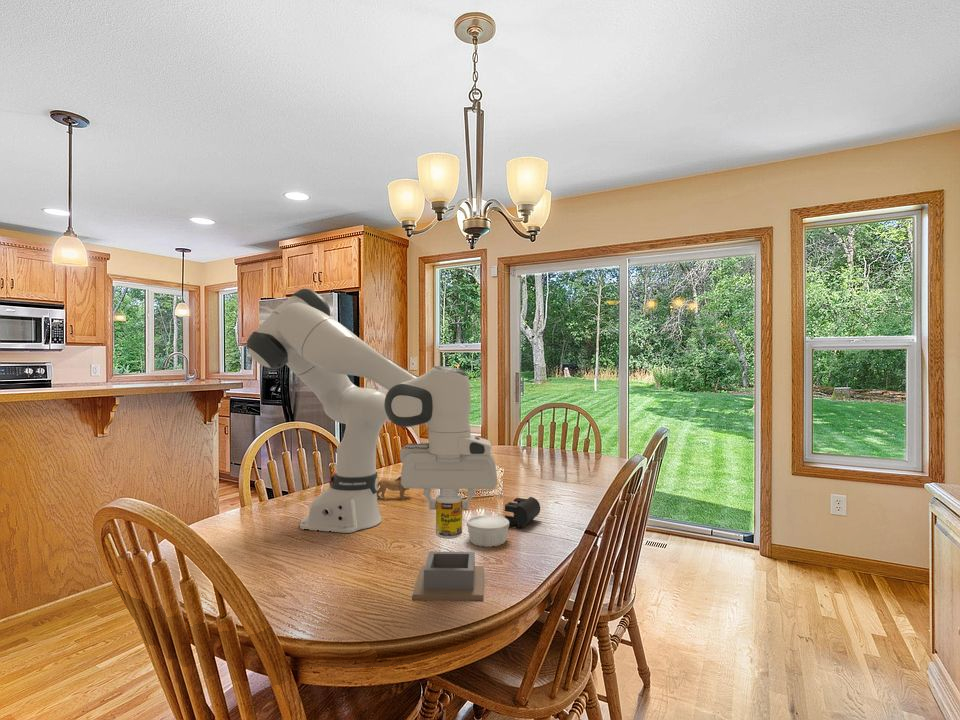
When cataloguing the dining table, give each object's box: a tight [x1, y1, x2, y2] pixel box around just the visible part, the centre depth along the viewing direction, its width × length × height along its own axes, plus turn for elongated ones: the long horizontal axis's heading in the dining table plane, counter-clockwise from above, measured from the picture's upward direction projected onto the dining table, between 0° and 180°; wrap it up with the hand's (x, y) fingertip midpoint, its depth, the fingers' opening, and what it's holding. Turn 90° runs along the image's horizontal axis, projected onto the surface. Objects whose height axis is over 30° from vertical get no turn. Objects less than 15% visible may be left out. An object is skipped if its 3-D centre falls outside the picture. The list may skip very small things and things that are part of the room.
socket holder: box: [411, 551, 485, 601], centre depth 109 cm, size 14×14×5 cm
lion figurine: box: [377, 475, 411, 501], centre depth 175 cm, size 15×5×9 cm, turn 104°
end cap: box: [504, 496, 541, 529], centre depth 149 cm, size 10×7×7 cm
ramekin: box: [466, 514, 510, 548], centre depth 135 cm, size 11×11×5 cm
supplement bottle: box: [435, 489, 463, 540], centre depth 109 cm, size 6×6×10 cm
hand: (449, 509), depth 109 cm, fingers closed on supplement bottle, 5 cm apart
